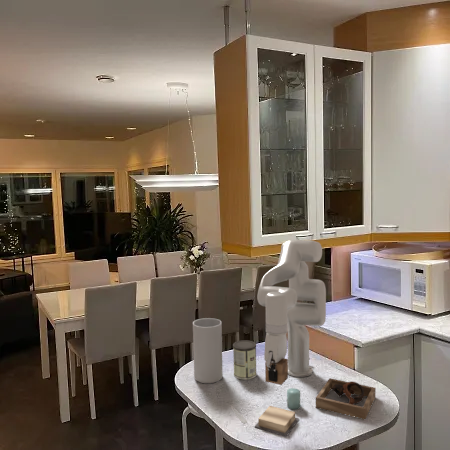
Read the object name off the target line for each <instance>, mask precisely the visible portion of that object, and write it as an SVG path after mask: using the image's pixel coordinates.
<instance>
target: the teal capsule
mask: <svg viewBox="0 0 450 450" xmlns="http://www.w3.org/2000/svg"><path fill="white" fill-rule="evenodd" d="M286 407H287V408H288V409H289V410H291V411H292V410H293V411H295V410H300V408H301V390H300V389H298V388H294V387H291V388H288V389H287V391H286Z"/></svg>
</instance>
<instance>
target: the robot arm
mask: <svg viewBox="0 0 450 450" xmlns="http://www.w3.org/2000/svg"><path fill="white" fill-rule="evenodd" d="M280 250H281V251H280V253H279V258H278V261H277V265H276V266H274V267H273V268H271V269H269V270H268V271H267V272H266V273H265V274H264V275H263V277H262V278H261V280H260V284H259V287H258V290H257V296H256V297H257V298H256V299H257V302H258V304H259V305H260V306H262V307H265V340H264V354H263V355H264V356H263V357H264V361H265V362H266V361H267V363H266V365H267V367H268V380H269V381H273V382H277V381H278V371H277V370H276V369H277V363H278V362H279V361H280V360H281V359H282V358H284V359H286V358H285V357H286V355H287V359H288V376H291V377H294V378H295V377H296V378H306V377H309V376H310V375H312V374H313V373H314V371H313V370H314V369H313V368H312V366H310V359H311V358H310V333H309V331H308V328H307V327H306V326H312V327H313V326H314V327H322V326H323V325H324V324H325V323H326V319H327V318H326V317H327V316H326V315H327V314H326V311H327V306H326V305H327V303H326V302H327V300H326V299H327V289H326V284H325V282H324V281H323V280H321V279H315V278H314V279H313V278H310V276H309V265H308V264H307V263H308V262H312V263H318V262H320V261H321V259H322V256H323V247H322V245H321V242H318V241H315V240H308V239H307V240H306V239H304V240H303V239H289V240H286V241H285V242H283V243H282V244H281V247H280ZM306 262H307V263H306ZM285 281H288V287H284V286H274V285H277V284H279V283H282V282H283V283H284V282H285ZM298 301H305V302H298ZM306 301H307V302H306ZM308 302H309V303H308ZM310 302H313V303H310ZM272 359H273V360H275V361H272ZM271 363H275V364H274V366H273V365H272V364H271Z"/></svg>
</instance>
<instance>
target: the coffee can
mask: <svg viewBox="0 0 450 450" xmlns="http://www.w3.org/2000/svg"><path fill="white" fill-rule="evenodd" d="M232 348H233V350H232V351H233V352H232V353H233V376H234V377H235V378H236V379H238V380H243V381H245V380H247V381H248V380H252V379H254V378H256V376H257V343H256V342H255V341H253V340H243V339H242V340H237V341H234V342H233V344H232Z"/></svg>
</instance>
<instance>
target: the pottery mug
mask: <svg viewBox="0 0 450 450" xmlns="http://www.w3.org/2000/svg"><path fill="white" fill-rule="evenodd" d="M347 382H348V383H346V384H344V385H340V384H335V385H334V386H333V389H332V391H333V393H335V394H336V395H337V396H338V398H341V397H342V396H343V395H345V396H346V397H347V399H349V401H348V402H347V403H348V404H352V405H357V404H359V403H360V402H362V401H363V400H364V397H365V396H364V389H363V387H362V386H361V385H362V384H360V383H358V382H356V381H347ZM354 385H356V386H358V388H360V389H361V391H362V394H361V395H355V394H354V390H352V389H350V387H351V386H354ZM337 389H338V390H337ZM351 394H352V395H351ZM352 396H354V397H352Z"/></svg>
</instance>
